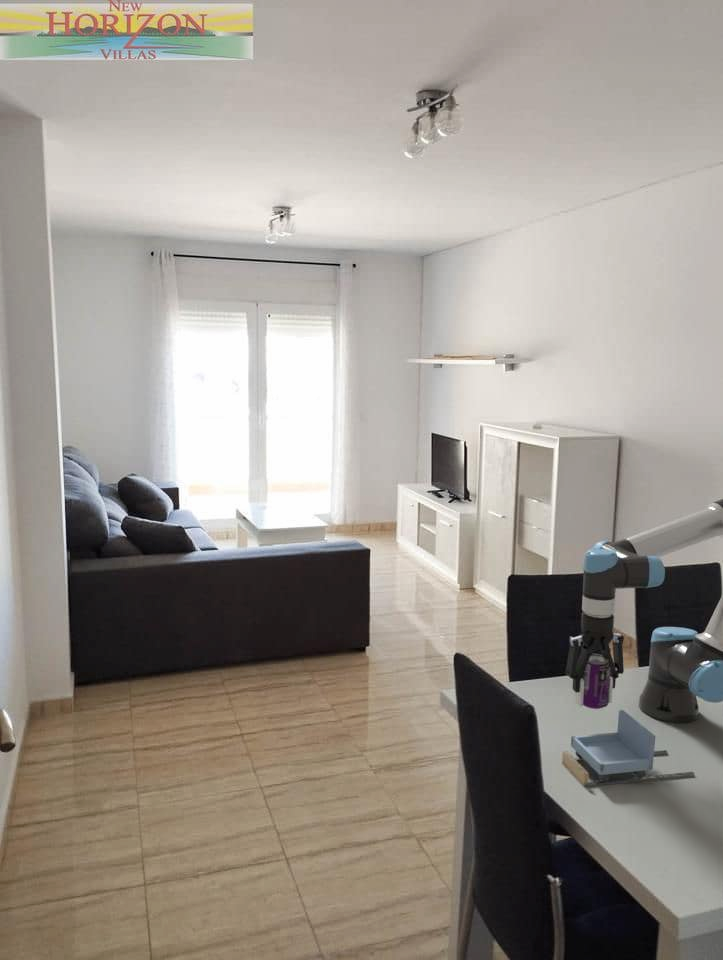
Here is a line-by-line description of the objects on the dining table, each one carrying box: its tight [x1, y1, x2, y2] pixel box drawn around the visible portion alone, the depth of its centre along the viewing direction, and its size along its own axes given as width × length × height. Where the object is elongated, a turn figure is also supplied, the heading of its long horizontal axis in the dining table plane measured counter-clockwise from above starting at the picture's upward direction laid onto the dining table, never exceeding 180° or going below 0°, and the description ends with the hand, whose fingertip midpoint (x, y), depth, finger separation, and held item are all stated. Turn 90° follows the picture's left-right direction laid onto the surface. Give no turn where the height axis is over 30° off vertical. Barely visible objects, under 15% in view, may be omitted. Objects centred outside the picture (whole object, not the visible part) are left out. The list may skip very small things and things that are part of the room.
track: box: [561, 749, 695, 788], centre depth 175 cm, size 28×11×3 cm, turn 103°
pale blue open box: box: [570, 709, 657, 782], centre depth 173 cm, size 13×13×10 cm
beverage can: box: [581, 653, 610, 710], centre depth 186 cm, size 7×7×12 cm
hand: (593, 702), depth 187 cm, fingers closed on beverage can, 7 cm apart
